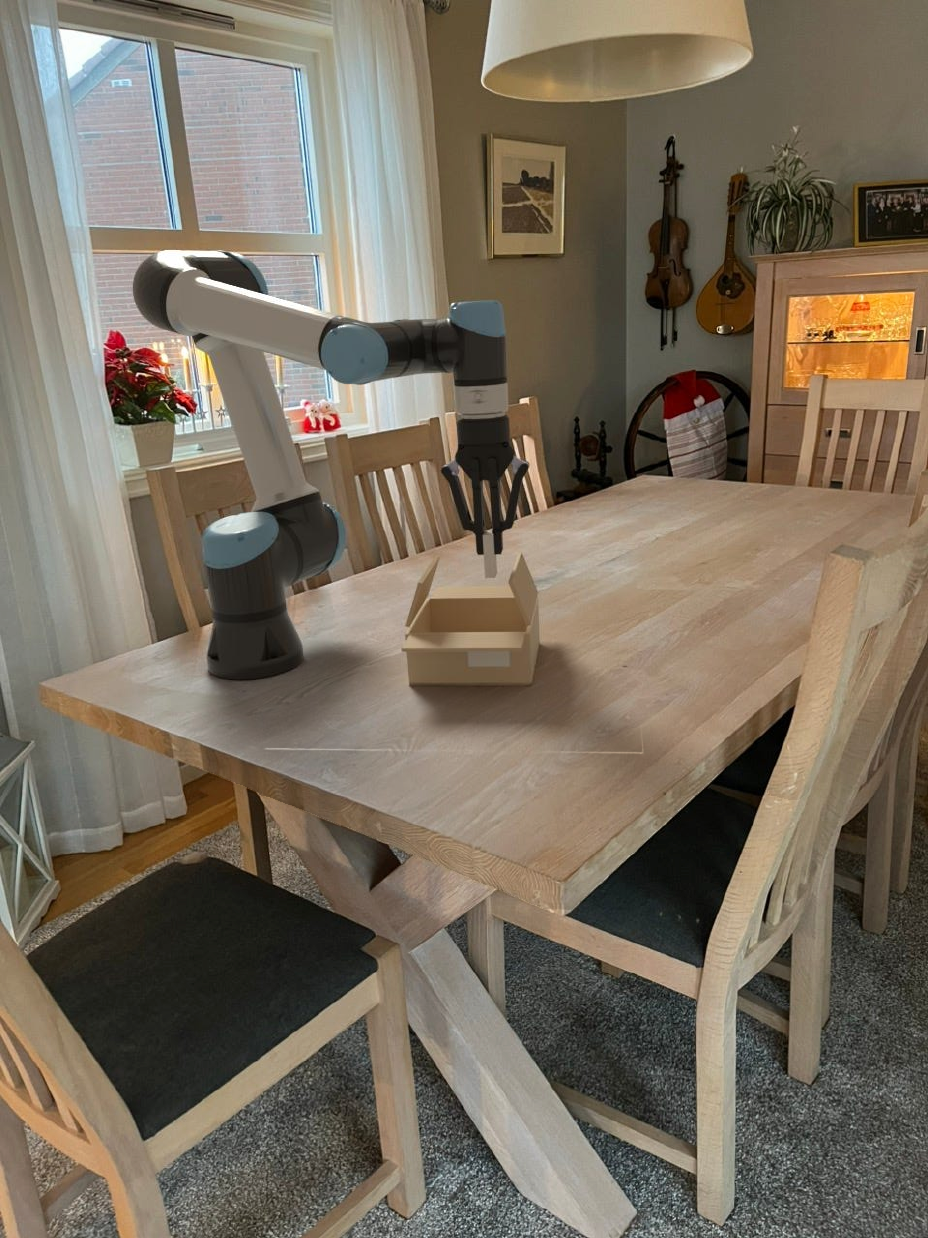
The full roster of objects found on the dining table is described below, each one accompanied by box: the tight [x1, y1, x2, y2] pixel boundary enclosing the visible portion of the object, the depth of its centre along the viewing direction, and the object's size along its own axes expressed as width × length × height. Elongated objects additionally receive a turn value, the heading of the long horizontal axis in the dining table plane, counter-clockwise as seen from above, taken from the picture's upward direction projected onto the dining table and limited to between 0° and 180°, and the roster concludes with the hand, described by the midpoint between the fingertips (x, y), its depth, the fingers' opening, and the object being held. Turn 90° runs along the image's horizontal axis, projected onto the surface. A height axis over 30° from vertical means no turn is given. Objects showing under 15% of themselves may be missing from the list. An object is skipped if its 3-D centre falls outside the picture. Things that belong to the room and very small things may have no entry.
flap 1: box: [405, 553, 441, 628], centre depth 147 cm, size 1×16×7 cm, turn 172°
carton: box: [401, 585, 541, 687], centre depth 148 cm, size 18×30×8 cm, turn 172°
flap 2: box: [508, 552, 539, 626], centre depth 145 cm, size 1×16×7 cm, turn 172°
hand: (491, 575), depth 145 cm, fingers closed
